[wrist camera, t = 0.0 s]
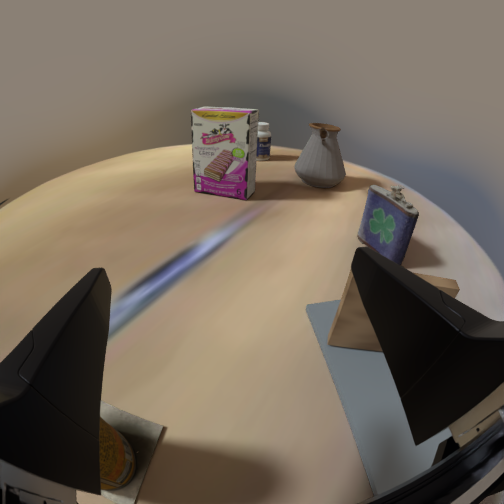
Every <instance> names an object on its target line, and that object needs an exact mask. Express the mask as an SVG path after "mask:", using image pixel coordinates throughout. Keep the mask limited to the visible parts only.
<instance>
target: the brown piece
mask: <svg viewBox="0 0 504 504" xmlns="http://www.w3.org/2000/svg"><path fill="white" fill-rule="evenodd" d="M414 274H415V275H417V276H419V277H421V278H422V279H424V280H425V281H427V282H429V283H430V284H432V285H434V286H435V287H437V288H438V289H439V290H442V291H443V292H445V293H447V294H448V295H450V296H451V297H453V298H455V297H456V295H457V294H458V292H459V290H460V289H459V287H458V284H457V282H456V280H452V279H446V278H441V277H435V276H429V275H423V274H418V273H414ZM327 345H333V346H340V347H347V348H355V349H364V350H373V351H382V349H381V346H380V344H379V341H378V339H377V336H376V334H375V331H374V329H373V327H372V324H371V322H370V320H369V317H368V315H367V313H366V311H365V308H364V306H363V303H362V300H361V297H360V294H359V291H358V288H357V285H356V282H355V279H354V277H353V274H352V270H350V274H349V277H348V280H347V283H346V286H345V289H344V292H343V295H342V298H341V301H340V304H339V306H338V309H337V312H336V315H335V318H334V320H333V323H332V326H331V328H330V331H329V334H328V342H327Z"/></svg>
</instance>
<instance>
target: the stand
mask: <svg viewBox="0 0 504 504" xmlns="http://www.w3.org/2000/svg"><path fill="white" fill-rule="evenodd" d="M340 301H341V300H335V301H329V302H322V303H315V304H308V305H307V306H306V312H307V314H308V317H309V319H310V322H311V324H312V327H313V329H314V332H315V334H316V337H317V339H318V342H319V345H320V347H321V350H322V352H323V355H324V357H325V360H326V363H327V365H328V368H329V370H330V373H331V376H332V378H333V381H334V384H335V386H336V389H337V392H338V394H339V397H340V400H341V402H342V405H343V408H344V411H345V413H346V416H347V419H348V422H349V424H350V427H351V430H352V433H353V436H354V438H355V441H356V444H357V447H358V450H359V453H360V456H361V458H362V461H363V464H364V467H365V470H366V473H367V476H368V479H369V482H370V485H371V488H372V491H373V494H374V496H377V495H379V494H381V493H383V492H385V491H388V490H390V489H392V488H394V487H396V486H398V485H400V484H402V483H404V482H406V481H408V480H409V479H411V478H413V477H415V476H417V475H419V474H420V473H422V472H424V471H425V470H427V469H429V468H430V467H431V466H432V463H433V460H434V457H435V454H436V451H437V448H438V445H439V443H441V442H442V441H444V440H446V439H447V438H449V437H450V436H452V434H451V432H450V430H449V427H448V428H447V429H445V430H444V431H442V432H440V433H439V434H437V435H435V436H434V437H432V438H430V439H428V440H427V441H425V442H423V443H421V444H419V445H417V446H415V443H414V440H413V437H412V434H411V430H410V427H409V424H408V421H407V418H406V415H405V412H404V409H403V406H402V403H401V400H400V399H401V398H400V397H399V394H398V391H397V388H396V385H395V383H394V380H393V377H392V374H391V372H390V369H389V366H388V364H387V361H386V359H385V356H384V354H383V351H373V350H364V349H355V348H347V347H340V346H333V345H327V342H328V334H329V331H330V328H331V326H332V323H333V320H334V318H335V315H336V312H337V309H338V306H339V304H340Z"/></svg>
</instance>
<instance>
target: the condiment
mask: <svg viewBox="0 0 504 504" xmlns="http://www.w3.org/2000/svg"><path fill="white" fill-rule="evenodd" d="M162 428H163V426H162V425H159V424H156V423H153V422H150V421H148V420H145V419H142V418H140V417H137V416H135V415H132V414H130V413H127V412H125V411H123V410H120V409H118V408H116V407H114V406H112V405H110V404H107V403H105V402H103V401H101V407H100V434H99V441H100V480H101V495H102V496H104V497H106V498H108V499H109V500H111V501H113V502H115V503H117V504H134V502H135V499H136V497H137V494H138V492H139V488H140V486H141V484H142V481H143V478H144V476H145V473H146V470H147V468H148V464H149V461H150V458H151V457H152V454H153V451H154V449H155V447H156V444H157V441H158V438H159V435H160V433H161V430H162Z"/></svg>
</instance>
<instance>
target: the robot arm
mask: <svg viewBox="0 0 504 504" xmlns="http://www.w3.org/2000/svg"><path fill="white" fill-rule="evenodd" d="M351 270H352V274H353V277H354V279H355V282H356V285H357V288H358V291H359V294H360V297H361V300H362V303H363V306H364V308H365V311H366V313H367V315H368V317H369V320H370V322H371V324H372V327H373V329H374V331H375V334H376V336H377V339H378V341H379V344H380V346H381V349H382V351H383V354H384V356H385V359H386V361H387V364H388V366H389V369H390V372H391V374H392V377H393V380H394V383H395V385H396V388H397V391H398V394H399V397H400V398H401V399H400V400H401V403H402V406H403V409H404V412H405V415H406V418H407V421H408V424H409V427H410V430H411V434H412V437H413V440H414V443H415V446H417V445H419V444H421V443H423V442H425V441H427V440H428V439H430V438H432V437H434V436H435V435H437V434H439V433H440V432H442V431H444V430H445V429H447V428H448V427H449V430H450V432H451V434H452V436H450V437H449V438H447V439H446V440H444V441H442V442H441V443H439V445H438V448H437V451H436V454H435V457H434V460H433V463H432V466H431V467H430V468H429V469H427V470H425V471H424V472H422V473H420V474H419V475H417V476H415V477H413V478H411V479H409V480H408V481H406V482H404V483H402V484H400V485H398V486H396V487H394V488H392V489H390V490H388V491H385V492H383V493H381V494H379V495H377V496H374V497H372V498H370V499H367V500H365V501H362V502H360V503H357V504H479V503H480V502H481V501H482V500H483V499H484V498H486V497H487V496H490V495H493V494H495V493H498V492H500V491H503V490H504V321H495V320H492V319H490V318H488V317H486V316H484V315H483V314H481V313H479V312H477V311H476V310H474V309H472V308H470V307H469V306H467V305H465V304H463V303H462V302H460V301H458V300H456V299H455V298H453V297H451V296H450V295H448V294H447V293H445V292H443V291H442V290H439V289H438V288H437V287H435V286H434V285H432V284H430V283H429V282H427V281H425V280H424V279H422V278H421V277H419V276H417V275H415V274H414V273H412V272H410V271H409V270H407V269H405V268H404V267H402V266H400V265H398V264H397V263H395V262H393V261H392V260H390V259H388V258H386V257H385V256H383V255H381V254H379V253H377V252H376V251H374V250H372V249H370V248H368V247H359V248H357V249H356V251H355V254H354V258H353V261H352V264H351ZM110 304H111V285H110V282H109V279H108V277H107V274H106V271H105V269H104V268H93V269H91V270H90V271H89V272H88V273H87V274H86V275H85V276H84V277H83V278H82V279H81V280H80V281H79V282H78V283H77V284H76V285H75V286H73V287H72V288H71V289H70V290H69V291H68V292H67V293H66V294H65V295H64V296H63V297H62V298H61V299H60V300H59V301H58V302H57V303H56V304H55V305H54V306H53V307H52V308H51V310H50V311H49V312H48V313H47V314H46V315H45V316H44V317H43V318H42V319H41V320H40V321H39V322H38V323H37V324H36V325H35V327H34V328H33V329H32V330H31V331H30V332H29V333H28V334H27V335H26V336H25V338H24V339H23V340H22V341H21V342H20V343H19V344H18V345H17V346H16V347H15V348H14V349H13V351H12V352H11V353H10V354H9V355H8V356H7V357H6V358H5V359H4V360H3V361H2V362H1V363H0V504H78V503H77V498H76V490H78V491H82V492H87V493H91V494H96V495H101V480H100V441H99V434H100V407H101V392H102V381H103V371H104V362H105V354H106V346H107V339H108V332H109V320H110Z"/></svg>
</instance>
